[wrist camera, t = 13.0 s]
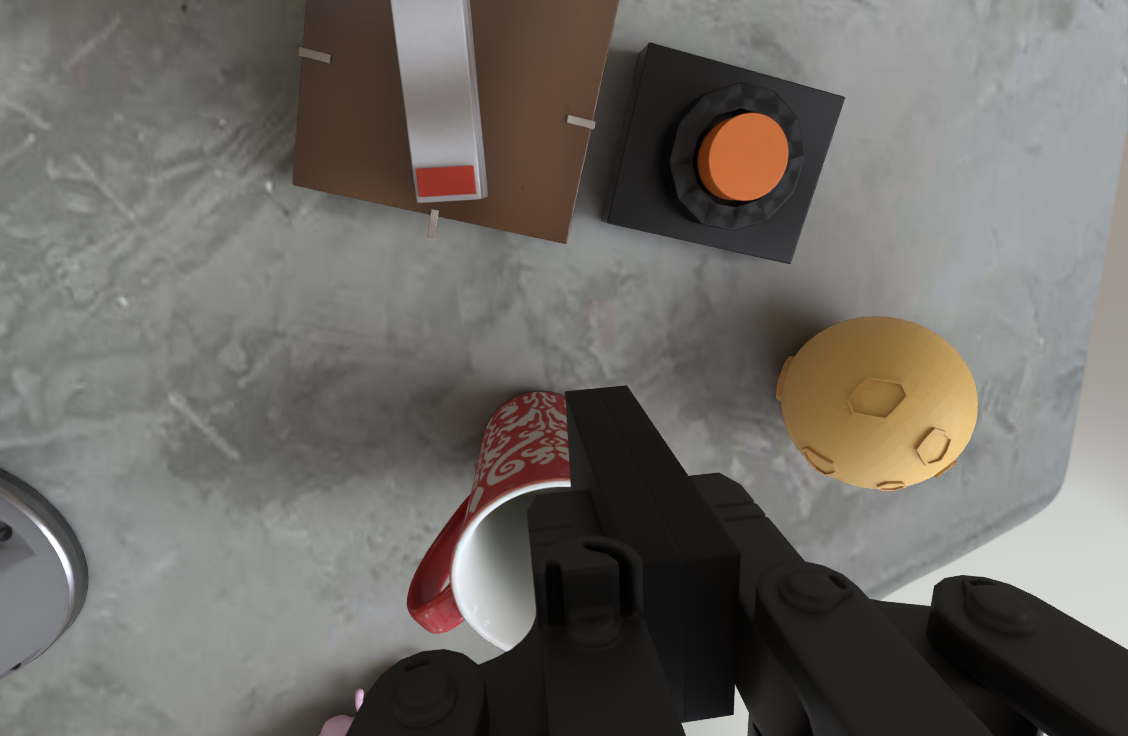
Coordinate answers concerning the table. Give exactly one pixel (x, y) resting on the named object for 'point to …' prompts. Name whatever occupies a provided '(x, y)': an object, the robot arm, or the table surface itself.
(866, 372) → the stress ball
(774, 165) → the button
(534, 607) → the mug
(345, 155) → the plate
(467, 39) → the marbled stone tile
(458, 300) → the table surface
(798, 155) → the button housing
